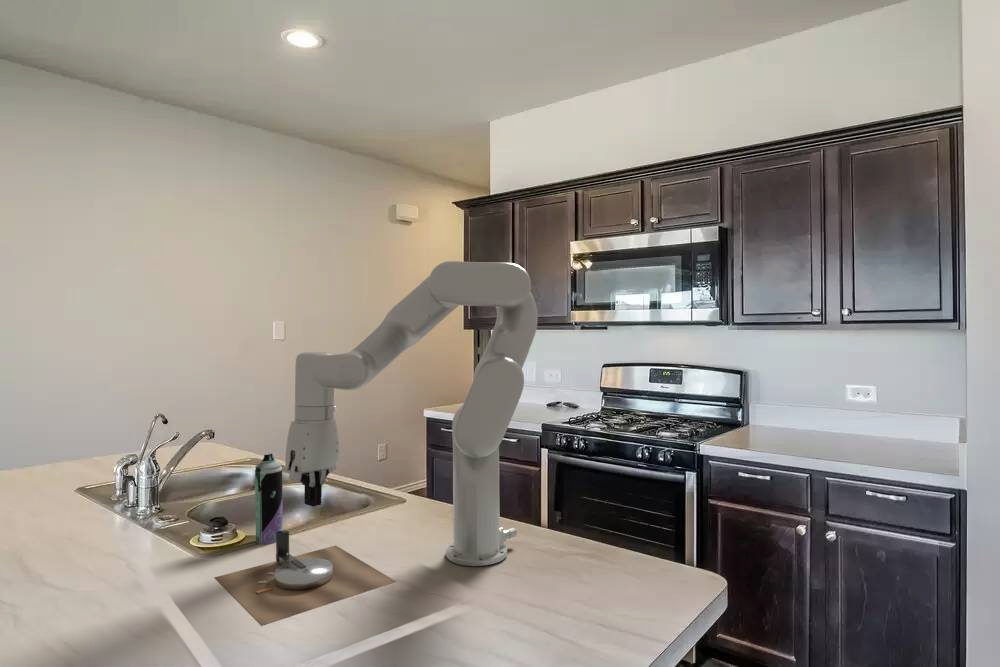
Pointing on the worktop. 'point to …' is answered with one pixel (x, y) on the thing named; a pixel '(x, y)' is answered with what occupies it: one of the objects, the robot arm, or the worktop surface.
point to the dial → (299, 567)
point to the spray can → (268, 500)
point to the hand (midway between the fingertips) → (312, 504)
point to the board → (277, 603)
